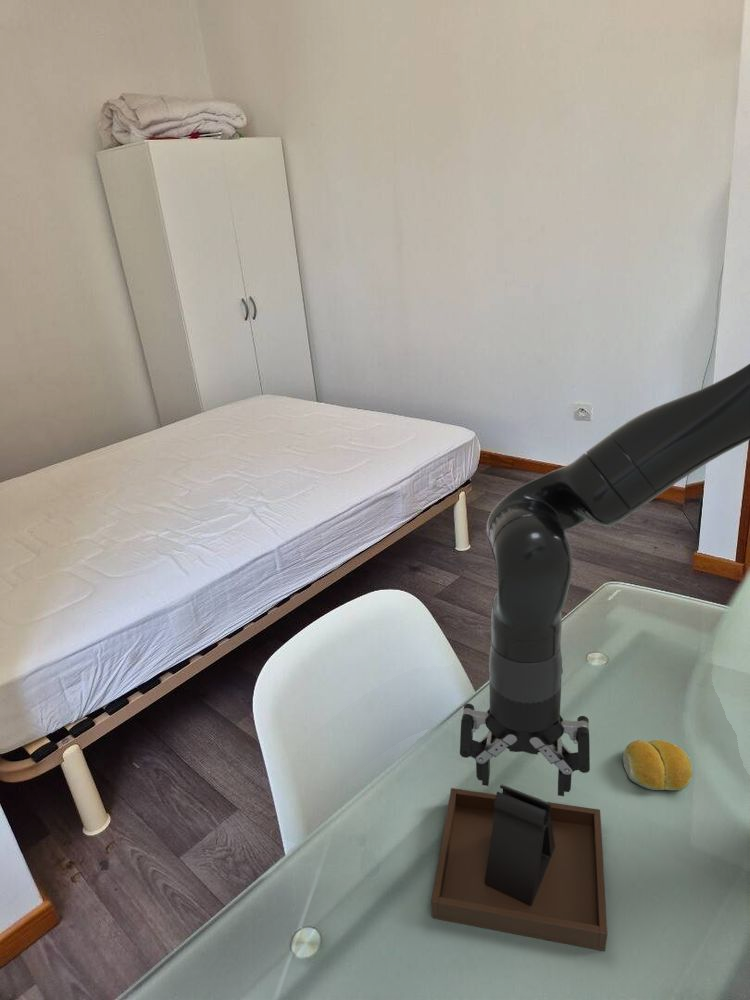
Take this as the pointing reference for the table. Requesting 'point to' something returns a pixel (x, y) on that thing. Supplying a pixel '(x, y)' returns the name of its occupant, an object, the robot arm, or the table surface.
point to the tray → (563, 890)
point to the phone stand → (519, 844)
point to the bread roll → (657, 765)
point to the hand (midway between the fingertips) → (523, 784)
